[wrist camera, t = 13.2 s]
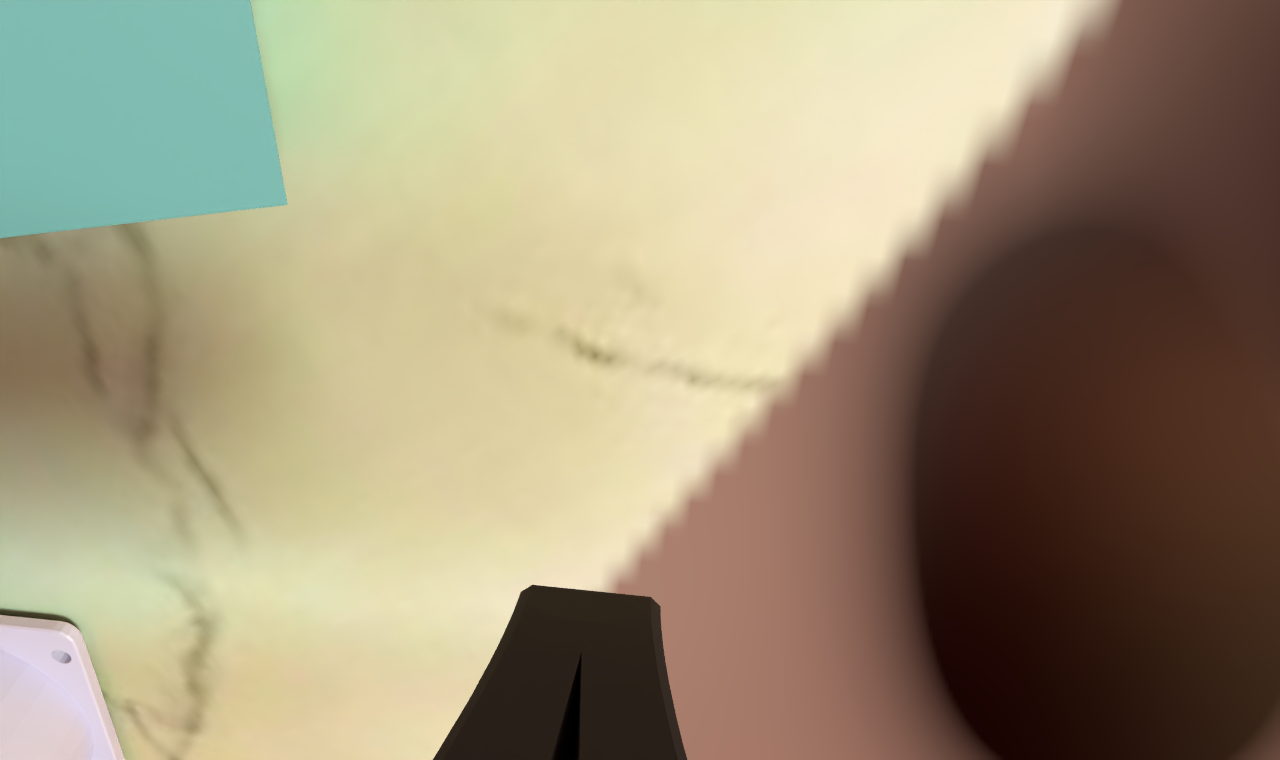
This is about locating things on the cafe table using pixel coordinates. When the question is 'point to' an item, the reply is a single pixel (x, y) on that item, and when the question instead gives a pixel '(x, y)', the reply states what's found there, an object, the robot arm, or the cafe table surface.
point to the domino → (131, 113)
